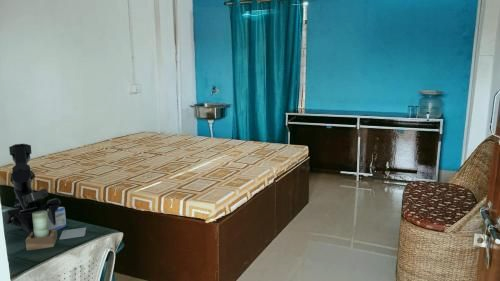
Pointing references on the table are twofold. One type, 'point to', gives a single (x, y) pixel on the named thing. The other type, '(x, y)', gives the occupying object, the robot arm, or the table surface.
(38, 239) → the pocket frame
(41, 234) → the pale green cylinder
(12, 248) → the table surface
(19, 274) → the table surface
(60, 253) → the table surface
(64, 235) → the slate pad
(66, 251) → the table surface
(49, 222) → the medicine box
